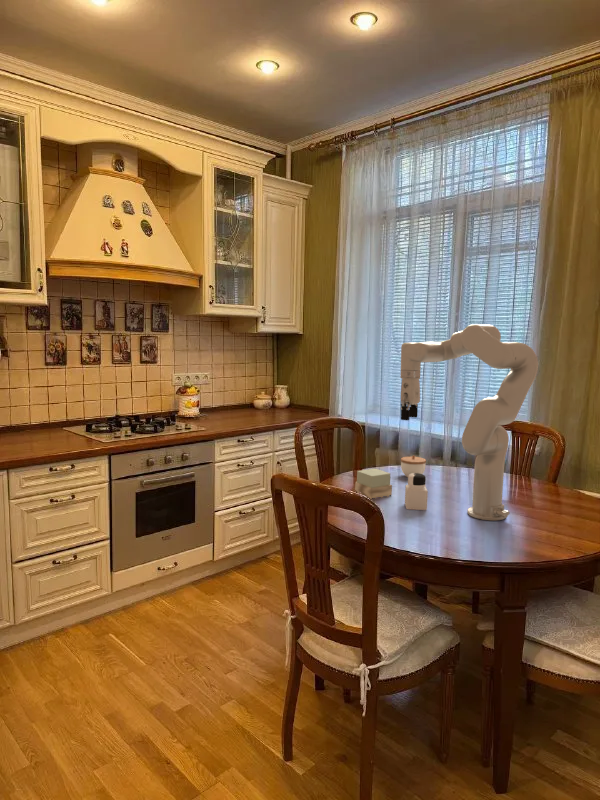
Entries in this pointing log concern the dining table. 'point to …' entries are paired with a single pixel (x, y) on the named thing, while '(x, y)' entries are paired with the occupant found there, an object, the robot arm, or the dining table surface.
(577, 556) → the dining table surface
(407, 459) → the lidded jar
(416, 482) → the medicine bottle
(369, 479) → the tower top block
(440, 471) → the dining table surface
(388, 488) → the tower bottom block
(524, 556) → the dining table surface
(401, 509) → the dining table surface
